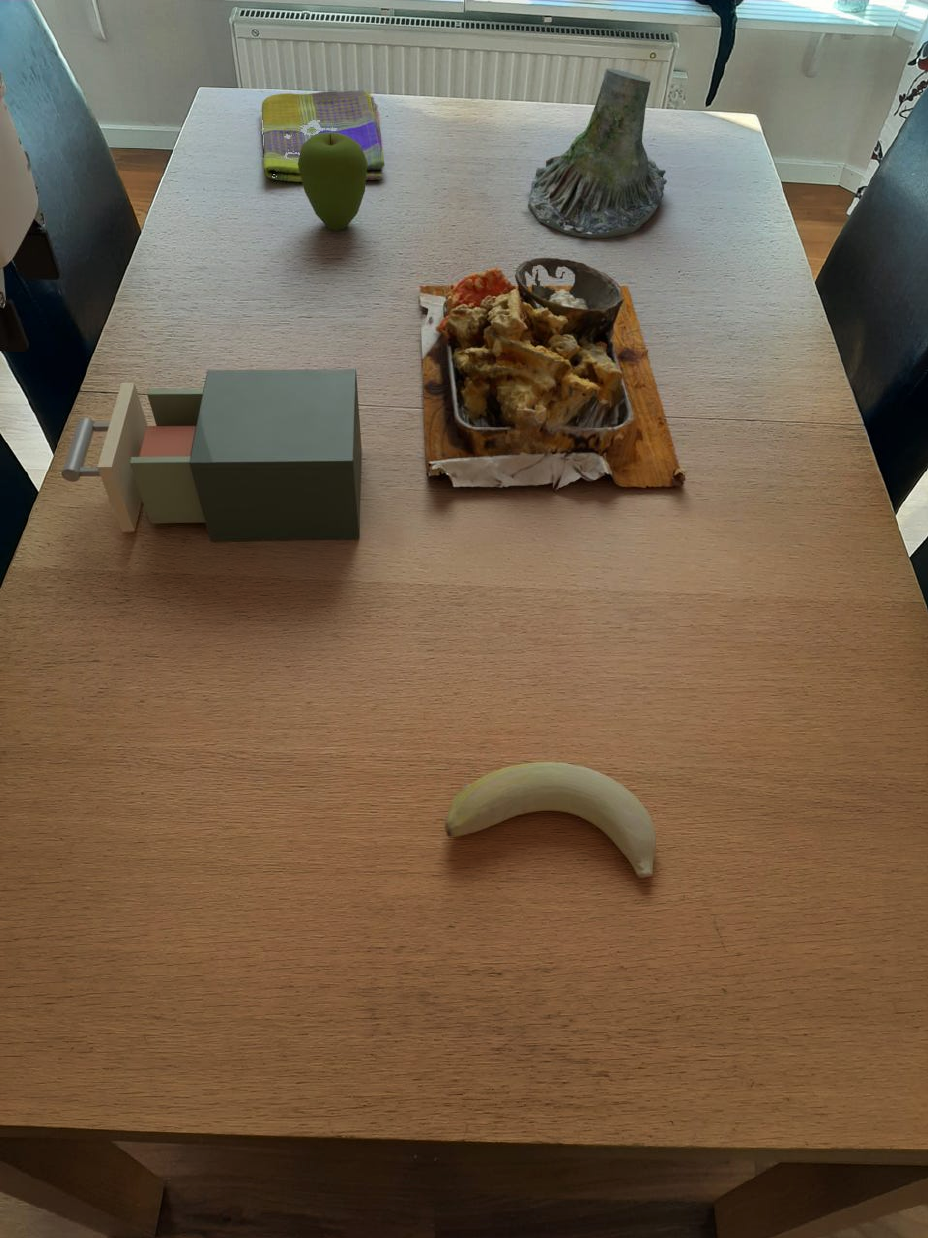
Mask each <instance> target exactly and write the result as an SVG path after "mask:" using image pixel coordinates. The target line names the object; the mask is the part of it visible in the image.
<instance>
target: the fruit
mask: <svg viewBox="0 0 928 1238" xmlns="http://www.w3.org/2000/svg"><path fill="white" fill-rule="evenodd" d="M544 811H552V812H553V811H554V812H562V813H568V814H570V815H575V816H578V817H580V818H582V819H584V820H585V821H587V822H589V823H590V824H593V825H594V826H595V827H597V828H598V829H599V830H601V832H603V833H604V834H605V835H606V836H607V837H608V838H609V839H610V840H611V842H613V843H614V844H615V846H616V847H617V849H619V851H621V853H622V854H623V855H624V856H625V858H626V859H627V860H628V861H629V863H630V865H631V866H632V868H633V869H634V871H635V875H636V876H637V877H638V878H640V879H645V878H650V877H652V876H653V873H654V860H655V854H656V848H657V833H656V828H655V824H654V821H653V819H652V817H651V815H650V813H649V812H648V810H647V809H646V807H645V806H644V805H643V803H642V802H641V801H640V800H639V799H638V798H637V796H636V795H634V793H632V792H631V791H630V790H629V789H627V788H626V787H625V786H623V785H622V784H621V783H619V782H618V781H616V780H614V779H613V778H611V777H609V776H607V775H606V774H603V773H602V772H599V771H597V770H594V769H593V768H589V767H586V766H582V765H575V764H572V763H566V762H557V761H541V762H540V761H539V762H526V763H521V764H515V765H510V766H505V767H503V768H499V769H497V770H494V771H492V772H489V773H487V774H485V775H483V776H481V777H479V778H478V779H476V780H475V781H473V782H471V783H467V784H466V785H464V786H463V787H461V790H460V791H459V792H458V793H457V794H456V795H455V796H454V798H453V799H452V801H451V802H450V806H449V809H448V812H447V815H446V817H445V818H446V819H445V821H444V831H445V833H446V836H447V837H449V838H454V837H455V838H458V837H461V836H465V835H466V836H467V835H470V834H474V833H477V832H480V831H484V830H485V829H488V828H490V827H492V826H494V825H496V824H500V823H501V822H504V821H506V820H508V819H511V818H514V817H517V816H521V815H524V814H529V813H535V812H544Z"/></svg>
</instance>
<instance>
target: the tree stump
mask: <svg viewBox="0 0 928 1238" xmlns="http://www.w3.org/2000/svg"><path fill="white" fill-rule="evenodd" d="M604 71H605V72H604V74H603V75H604V76H603V79H602V83H601V86H600V89H599V93H598V96H597V99H596V102H595V105H594V108H593V110H592V113H591V115H590V118H589V121H588V124H587V127H586V128H585V129H584V131H583V132H582V133H580V134H578V135H577V136H576V137H575V139H574V140H573V141H572V143H571V144H570V146H569V148H568V149H567V150H566V151H565V152H564V153H562V154H560V155H555V156H553V157H550V158H549V159H547V160H545V167H537V168H536V170H535V176H534V178H533V179H532V181H531V187H530V195H529V197H528V201H527V202H528V203H527V207H528V208H529V210H530V211H531V212H532V213H533V215H534V216H535V218H536V219H537V220H538V221H539V223H540V224H541V223H542V224H544V225H545V226H548V227H550V228H552V229H554V230H557V231H558V232H561V233H563V234H565V235H569V236H575V237H578V238H579V237H580V238H586V239H607V238H608V239H610V238H613V237H619V236H623V235H624V236H625V235H630V234H633V233H635V232H636V231H637V230H639V229H640V228H641V227H643V226H644V225H645V223H647V222H648V220H649V219H650V218H651V217H652V216H653V214H654V213H655V212H656V211H657V208H658V207H659V205H660V203H661V201H662V198H663V197H664V190H665V185H666V184H667V181H668V180H667V179H665V178H664V176H665V174H666V173H667V171H666V170H664V169H660V168H658V166H657V164H656V162H655V161H654V160H653V159H652V158H650V157H649V156H648V153H647V151H646V149H645V147H644V144H643V133H644V125H645V118H646V117H645V116H646V108H647V102H648V98H649V92H650V87H651V82H652V81H651V80H650V79H648V78H646V77H644V76H640V75H638V74H635V73H632V72H628V71H623V70H620V69H616V68H615V69H614V68H605V70H604Z"/></svg>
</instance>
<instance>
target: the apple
mask: <svg viewBox="0 0 928 1238" xmlns="http://www.w3.org/2000/svg"><path fill="white" fill-rule="evenodd" d="M367 165H368V162H367V160H366V157H365V154H364V152H363V149H362V148H361V146H360V144H358V143H357V142H356V141H354V140H353V139H352V138H350V137H348V136H346V135H343V134H340V133H334V132H326V133H320V134H316V135H314V136H313V137H311V138H310V139H309V140H307V141H306V142H305V143H304V144H302V147H301V151H300V156H299V160H298V167H299V172H300V176H301V180H302V182H301V185H302V187H303V191H304V194H305V195H306V197H307V199H308V201H309V203H310V205H311V207H312V209H313V211H314V214H315V215H316V216H317V217H318V218H319V220H320V221H321V222H322V223H323V224H324V225H325V226H326V227H327V228H328V229H330V230H331V231H335V232H338V231H342V230H344V229H345V228H347V227H348V226H349V224H350V223H351V222H352V221H353V220H354V218H356V216H357V215H358V214H359V210H360V208H361V204H362V201H363V198H364V195H365V192H366V183H367V180H366V175H367Z"/></svg>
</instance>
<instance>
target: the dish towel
mask: <svg viewBox="0 0 928 1238" xmlns="http://www.w3.org/2000/svg"><path fill="white" fill-rule="evenodd" d="M378 107H379V106H378V104H377V103H376V102H375V98H374V96H372V95H371V93H370V92H369V91H366V92H365V90H364V89H358V90H357V89H356V90H345V91H338V90H337V91H336V90H331V91H330V90H329V91H318V92H312V93H291V92H290V93H278V94H277V93H276V94H272V95H269V96H267V97H265V99H263V101H262V102H261V112H262V120H263V128H264V130H263V135H264V146H263V138H262V137H261V144H262V148H263V147H264V154H263V153H262V166H263V172H264V174H265V176H267V177H268V176H269V177H268V178H269V179H272V180H277V181H285V182H294V183H295V182H297V183H298V182H299V183H300V182H301V183H302V180H301V176H300V172H299V167H298V162H297V161H298V160H299V156H300V155H298V154H288V155H287V158H289V159H286V158H285V157H284V156H285V154H286V152H287V153H288V152H292V153H295V152H297V153H298V152H299V153H300V151H301V147H302V144H304V143H305V142H306V141H307V140H309V139H310V138H311V137H313V136H314V135H310V136H309V135H307V134H306V135H304V133H303V132H301V129H303V128H302V127H300V126H303V125H308V123H309V122H310V121H312V120H316V121H317V120H320V122H318V123H319V125H320V127H321V128H325V130H323V131H320V132H319V133H318V134H320V133H326V132H334V133H340V134H343V135H346V136H348V137H350V138H352V139H353V140H354V141H356V142H357V143H358V144H360V146H361V148H362V149H363V152H364V154H365V157H366V160H367V162H368V165H367V175H366V181H374V180H376V181H377V180H382V179H383V178H382V172H383V169H384V167H385V159H384V155H383V152H382V135H381V132H382V131H381V127H380V117H379V116H380V115H379V109H378ZM260 126H261V128H260V129H261V131H260V132H261V133H260V134H261V135H262V123H261V122H260ZM303 127H304V126H303ZM332 127H333V128H337V130H336V131H331V130H326V128H330V129H331V128H332ZM316 131H317V130H316V129H315V128H314V127H310V128H308V129H307V133H311V134H313V133H315V132H316ZM286 134H288V135H290V136H291V135H292V136H291V137H290V139H287V138H285V137H284V136H286ZM315 135H316V134H315ZM288 150H289V151H288ZM293 151H294V152H293ZM263 156H264V157H263ZM290 159H292V160H290ZM294 160H295V161H294ZM273 174H275V175H273ZM272 176H273V177H275V178H271V177H272ZM276 176H277V177H276Z"/></svg>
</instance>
